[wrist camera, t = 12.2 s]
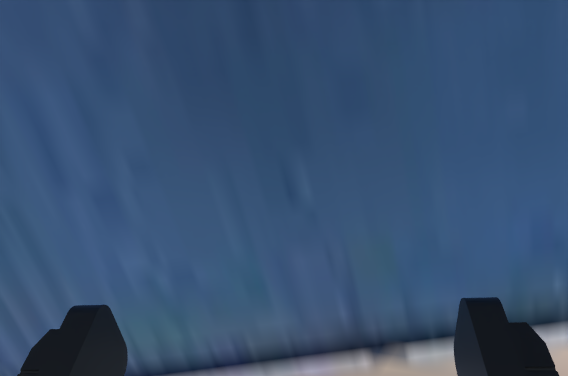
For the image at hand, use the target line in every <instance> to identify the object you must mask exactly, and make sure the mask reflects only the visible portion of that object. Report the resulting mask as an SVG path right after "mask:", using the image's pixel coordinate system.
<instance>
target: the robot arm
mask: <svg viewBox="0 0 568 376" xmlns="http://www.w3.org/2000/svg"><path fill="white" fill-rule="evenodd" d="M454 357H455V365H456V370H457V374H458V376H559V374H558V372H557V371H556V370H555V365H554V362H553V360H552V358H551V355H550V353H549V350H548V348H547V346H546V343H545V342H544V341H543V340H542V339H541V338H540V337H539V335H538V334H537V333H536V332H535V331H534V330H533V329H532V328H531V327H530V326H529V325H528V324H527V323H526V322H522V323H508V320H507V317H506V314H505V312H504V309H503V306H502V304H501V302H500V300H499V299H498V298H496V297H492V298H462V299H461V301H460V305H459V312H458V319H457V325H456V332H455V339H454ZM126 366H127V347H126V344H125V341H124V339H123V337H122V334H121V332H120V330H119V328H118V325H117V323H116V321H115V318H114V316H113V314H112V312H111V310H110V308H109V307H108V306H107V305H81V306H73V307H72V308H71V309H70V310H69V311H68V313H67V315H66V317H65V319H64V321H63V323H62V325H61V327H60V329H50V330H49V331H48V332H47V333H46V334H45V335H44V336H43V337H42V339H41V340H40V341H39V342H38V343H37V344H36V345H35V346H34V347H33V348H32V349H31V351H30V353H29V355H28V357H27V358H26V360H25V362H24V364H23V366H22V368H21V373H20V374H18V375H17V376H124V374H125V371H126Z"/></svg>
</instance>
